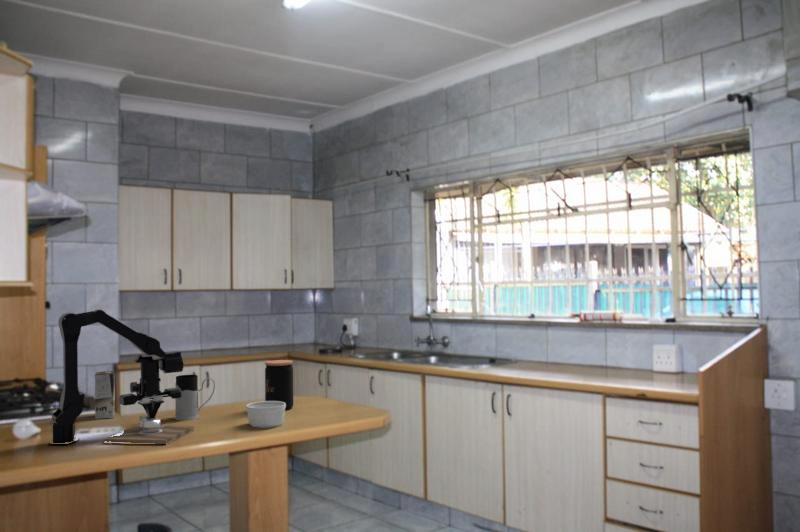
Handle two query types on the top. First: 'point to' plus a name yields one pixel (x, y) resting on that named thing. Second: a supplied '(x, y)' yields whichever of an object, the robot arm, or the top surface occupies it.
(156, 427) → the lock knob
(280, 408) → the ramekin
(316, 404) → the top surface
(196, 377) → the grey black mug
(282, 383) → the coffee jar
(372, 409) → the top surface
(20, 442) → the top surface
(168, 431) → the lock board
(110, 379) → the coffee box
